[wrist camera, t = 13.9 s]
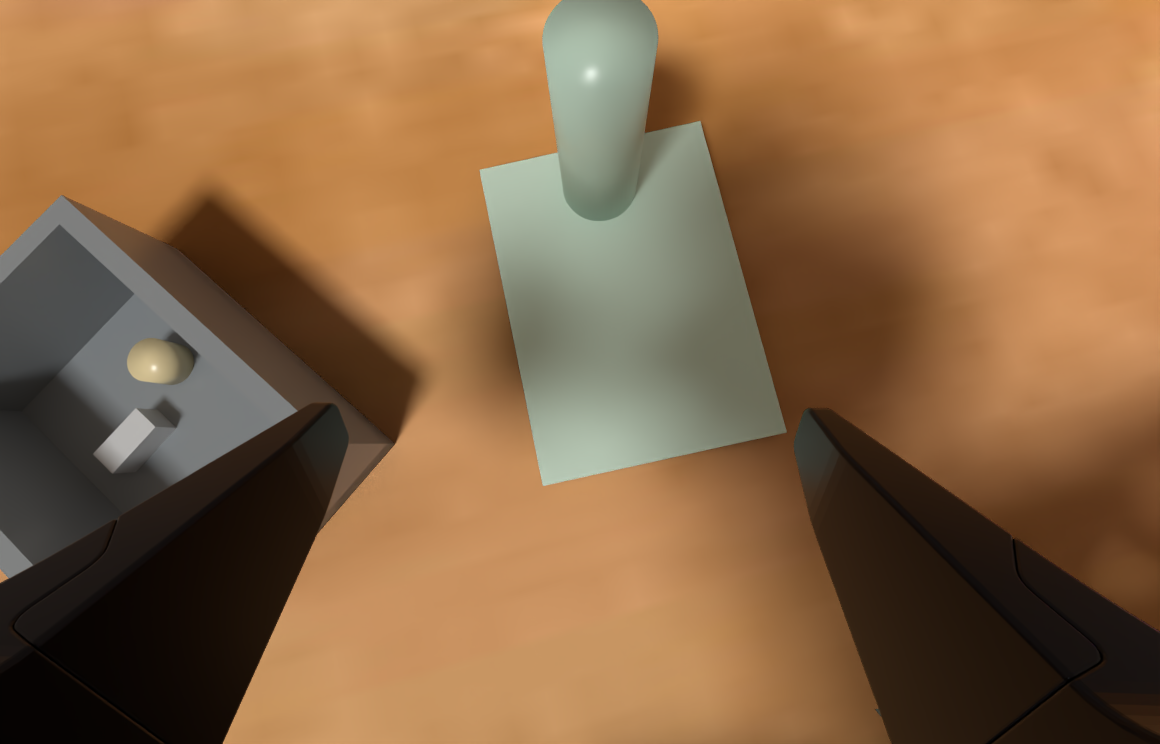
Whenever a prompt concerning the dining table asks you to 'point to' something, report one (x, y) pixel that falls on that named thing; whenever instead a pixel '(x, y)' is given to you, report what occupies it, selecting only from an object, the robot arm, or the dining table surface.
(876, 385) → the dining table surface
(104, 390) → the parts tub
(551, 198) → the pale green stand
